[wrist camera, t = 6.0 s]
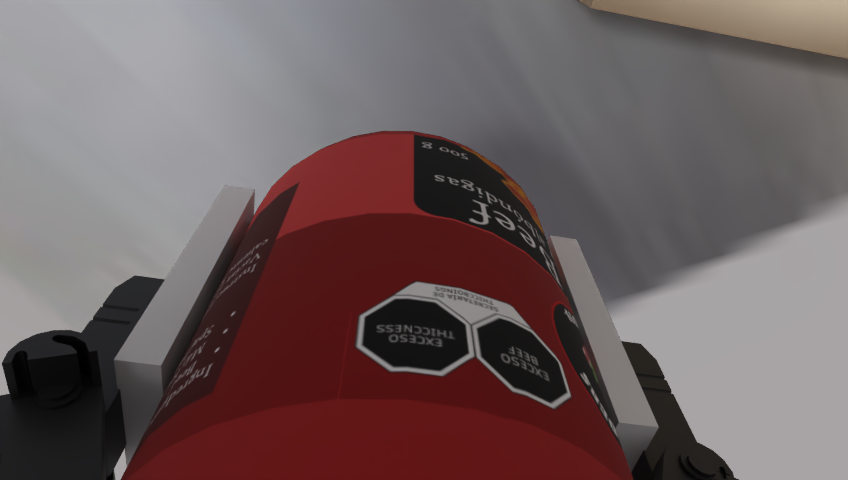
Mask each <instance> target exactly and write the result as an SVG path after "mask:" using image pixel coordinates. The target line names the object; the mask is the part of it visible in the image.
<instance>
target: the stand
mask: <svg viewBox="0 0 848 480" xmlns="http://www.w3.org/2000/svg"><path fill="white" fill-rule="evenodd" d="M579 1H580V2H582V3H583V4H585V5H587V6H588V7H590V8H593V9H598V10H603V11H608V12H613V13H618V14H623V15H628V16H633V17H639V18H644V19H649V20H654V21H659V22H664V23H669V24H674V25H679V26H684V27H689V28H694V29H700V30H705V31H710V32H715V33H720V34H725V35H730V36H735V37H740V38H745V39H750V40H756V41H761V42H766V43H771V44H776V45H781V46H786V47H791V48H796V49H801V50H806V51H811V52H817V53H822V54H827V55H832V56H837V57H842V58H847V59H848V0H579Z"/></svg>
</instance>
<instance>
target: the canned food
mask: <svg viewBox="0 0 848 480" xmlns="http://www.w3.org/2000/svg"><path fill="white" fill-rule="evenodd" d="M121 480H634V479H633V476H632V473H631V471H630V468H629V465H628V462H627V460H626V457H625V454H624V452H623V449H622V446H621V443H620V441H619V438H618V435H617V432H616V430H615V427H614V424H613V421H612V419H611V416H610V413H609V410H608V408H607V405H606V402H605V399H604V397H603V394H602V391H601V388H600V386H599V383H598V380H597V377H596V375H595V372H594V369H593V366H592V364H591V361H590V358H589V355H588V353H587V350H586V347H585V344H584V342H583V339H582V336H581V334H580V331H579V328H578V325H577V323H576V320H575V317H574V314H573V312H572V309H571V306H570V303H569V301H568V298H567V295H566V292H565V290H564V287H563V284H562V281H561V279H560V276H559V273H558V270H557V268H556V265H555V262H554V259H553V257H552V254H551V251H550V248H549V246H548V243H547V240H546V237H545V235H544V232H543V229H542V226H541V224H540V221H539V218H538V215H537V213H536V210H535V208H534V207H533V205H532V204H531V202H530V201H529V199H528V198H527V196H526V194H525V193H524V191H523V190H522V188H521V187H520V186H519V185H518V184H517V183H516V182H515V181H514V180H513V179H512V178H511V177H510V176H509V175H507V174H506V173H505V172H504V171H503V170H502V169H501V168H500V167H499V166H497V165H496V164H494V163H492V162H491V161H489V160H488V159H486V158H485V157H483V156H481V155H480V154H478V153H477V152H475V151H473V150H472V149H470V148H469V147H467V146H464V145H462V144H459V143H456V142H454V141H451V140H449V139H446V138H443V137H441V136H435V135H430V134H424V133H419V132H414V131H380V132H375V133H369V134H363V135H358V136H353V137H350V138H348V139H345V140H342V141H340V142H337V143H334V144H332V145H329V146H327V147H325V148H323V149H321V150H319V151H317V152H315V153H314V154H312V155H311V156H309V157H307V158H306V159H304V160H302V161H301V162H299V163H298V164H296V165H294V166H293V167H292V168H291V169H290V170H289V171H287V172H286V173H285V174H284V175H283V176H282V177H281V178H280V179H279V180H278V181H277V182H276V183H275V184H274V185H273V186H272V187H271V189H270V190H269V192H268V193H267V195H266V197H265V198H264V200H263V201H262V203H261V204H260V206H259V207H258V209H257V211H256V213H255V215H254V217H253V219H252V221H251V223H250V225H249V227H248V229H247V231H246V233H245V235H244V237H243V239H242V241H241V243H240V245H239V247H238V249H237V251H236V253H235V255H234V257H233V259H232V260H231V262H230V264H229V266H228V268H227V270H226V272H225V274H224V276H223V278H222V280H221V282H220V284H219V286H218V288H217V290H216V292H215V294H214V296H213V298H212V300H211V302H210V304H209V306H208V308H207V310H206V312H205V314H204V316H203V318H202V320H201V322H200V324H199V326H198V328H197V330H196V332H195V334H194V336H193V338H192V340H191V342H190V344H189V346H188V348H187V350H186V352H185V354H184V356H183V357H182V359H181V361H180V363H179V365H178V367H177V369H176V371H175V373H174V375H173V377H172V379H171V381H170V383H169V385H168V387H167V389H166V391H165V393H164V395H163V397H162V399H161V401H160V403H159V405H158V407H157V409H156V411H155V413H154V415H153V417H152V419H151V421H150V423H149V425H148V427H147V429H146V431H145V433H144V435H143V437H142V439H141V441H140V443H139V445H138V447H137V449H136V451H135V452H134V454H133V456H132V458H131V460H130V462H129V464H128V466H127V468H126V470H125V472H124V474H123V476H122V478H121Z"/></svg>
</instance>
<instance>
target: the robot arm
mask: <svg viewBox="0 0 848 480" xmlns="http://www.w3.org/2000/svg"><path fill="white" fill-rule="evenodd" d="M254 197H255V190H254V189H248V188H241V187H235V186H228V185H225V186H224V188H223V189H222V191H221V193H220V194H219V196H218V197H217V199H216V200H215V202H214V204H213V205H212V207H211V208H210V210H209V211H208V213H207V215H206V216H205V218H204V219H203V221H202V222H201V224H200V225H199V227H198V229H197V230H196V232H195V233H194V235H193V236H192V238H191V240H190V241H189V243H188V244H187V246H186V247H185V249H184V251H183V252H182V254H181V255H180V257H179V258H178V260H177V262H176V263H175V265H174V266H173V268H172V269H171V271H170V272H169V274H168V276H167V277H166V279H165V280H164V279H156V278H149V277H142V276H133V277H132V278H130V279H129V280H127V281H125V282H124V283H122V284H121V285H119V286H117V287H116V288H115V289H114V290H113V291H112V293H111V294H110V295H109V297H108V298H107V299H106V301H105V302H104V303H103V307H100V309H99V310H98V311H97V313H96V314H95V315H94V317H93V320H91V321H90V322H89V323H88V325H87V326H86V327H85V329H84V330H83V331H82V333H79V332H75V331H72V330H53V331H49V332H44V333H40V334H36V335H34V336H31V337H29V338H27V339H25V340H23V341H21V342H19V343H18V344H17V345H16V346H14V347H13V348H12V349H11V350H10V351H8V353H7V354H6V356H5V358H4V360H3V362H2V366H3V369H4V373H5V377H6V381H7V385H8V389H9V393H10V394H6V395H1V396H0V480H115V474H114V468H115V466H116V464H117V462H118V460H119V458H120V456H121V454H122V452H123V450H124V448H125V455H126V463H127V466H128V464H129V462H130V460H131V458H132V456H133V454H134V452H135V451H136V449H137V447H138V445H139V443H140V441H141V439H142V437H143V435H144V433H145V431H146V429H147V427H148V425H149V423H150V421H151V419H152V417H153V415H154V413H155V411H156V409H157V407H158V405H159V403H160V401H161V399H162V397H163V395H164V393H165V391H166V389H167V387H168V385H169V383H170V381H171V379H172V377H173V375H174V373H175V371H176V369H177V367H178V365H179V363H180V361H181V359H182V357H183V356H184V354H185V352H186V350H187V348H188V346H189V344H190V342H191V340H192V338H193V336H194V334H195V332H196V330H197V328H198V326H199V324H200V322H201V320H202V318H203V316H204V314H205V312H206V310H207V308H208V306H209V304H210V302H211V300H212V298H213V296H214V294H215V292H216V290H217V288H218V286H219V284H220V282H221V280H222V278H223V276H224V274H225V272H226V270H227V268H228V266H229V264H230V262H231V260H232V259H233V257H234V255H235V253H236V251H237V249H238V247H239V245H240V243H241V241H242V239H243V237H244V235H245V233H246V231H247V229H248V227H249V225H250V223H251V221H252V219H253V217H254ZM547 243H548V246H549V248H550V251H551V254H552V257H553V259H554V262H555V265H556V268H557V270H558V273H559V276H560V279H561V281H562V284H563V287H564V290H565V292H566V295H567V298H568V301H569V303H570V306H571V309H572V312H573V314H574V317H575V320H576V323H577V325H578V328H579V331H580V334H581V336H582V339H583V342H584V344H585V347H586V350H587V353H588V355H589V358H590V361H591V364H592V366H593V369H594V372H595V375H596V377H597V380H598V383H599V386H600V388H601V391H602V394H603V397H604V399H605V402H606V405H607V408H608V410H609V413H610V416H611V419H612V421H613V424H614V427H615V430H616V432H617V435H618V438H619V441H620V443H621V446H622V449H623V452H624V454H625V457H626V460H627V462H628V465H629V468H630V471H631V473H632V476H633V479H634V480H738V479H736V478H734V476H733V472H732V471H731V469H730V468H729V467H728V465H727V464H726V463H725V461H724V460H723V459H722V458H721V457H720V456H718V455H717V454H716V453H715V452H714V451H712V450H711V449H709V448H707V447H705V446H703V445H702V444H700V443H697V441H696V439H695V437H694V435H693V434H692V431H691V429H690V427H689V425H688V423H687V421H686V419H685V417H684V415H683V413H682V411H681V409H680V407H679V405H678V403H677V401H676V399H675V397H674V395H673V394H671V389H670V387H669V385H668V383H667V381H666V380H664V378H665V377H664V375H663V373H662V371H661V369H660V367H659V365H658V362H657V360H656V359H655V358H654V357H653V356H652V355H651V354H650V353H649V352H648V351H647V350H646V349H645V348H644V347H643V346H642V345H641V344H638V343H630V342H623V341H621V340H620V338H619V336H618V333H617V331H616V329H615V326H614V324H613V322H612V319H611V317H610V315H609V313H608V310H607V308H606V306H605V304H604V301H603V299H602V297H601V294H600V292H599V290H598V288H597V285H596V283H595V281H594V278H593V276H592V274H591V272H590V269H589V267H588V265H587V262H586V260H585V258H584V256H583V253H582V251H581V249H580V247H579V244H578V242H577V240H576V239H571V238H564V237H558V236H551V235H550V237H549V240H548V242H547Z"/></svg>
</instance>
